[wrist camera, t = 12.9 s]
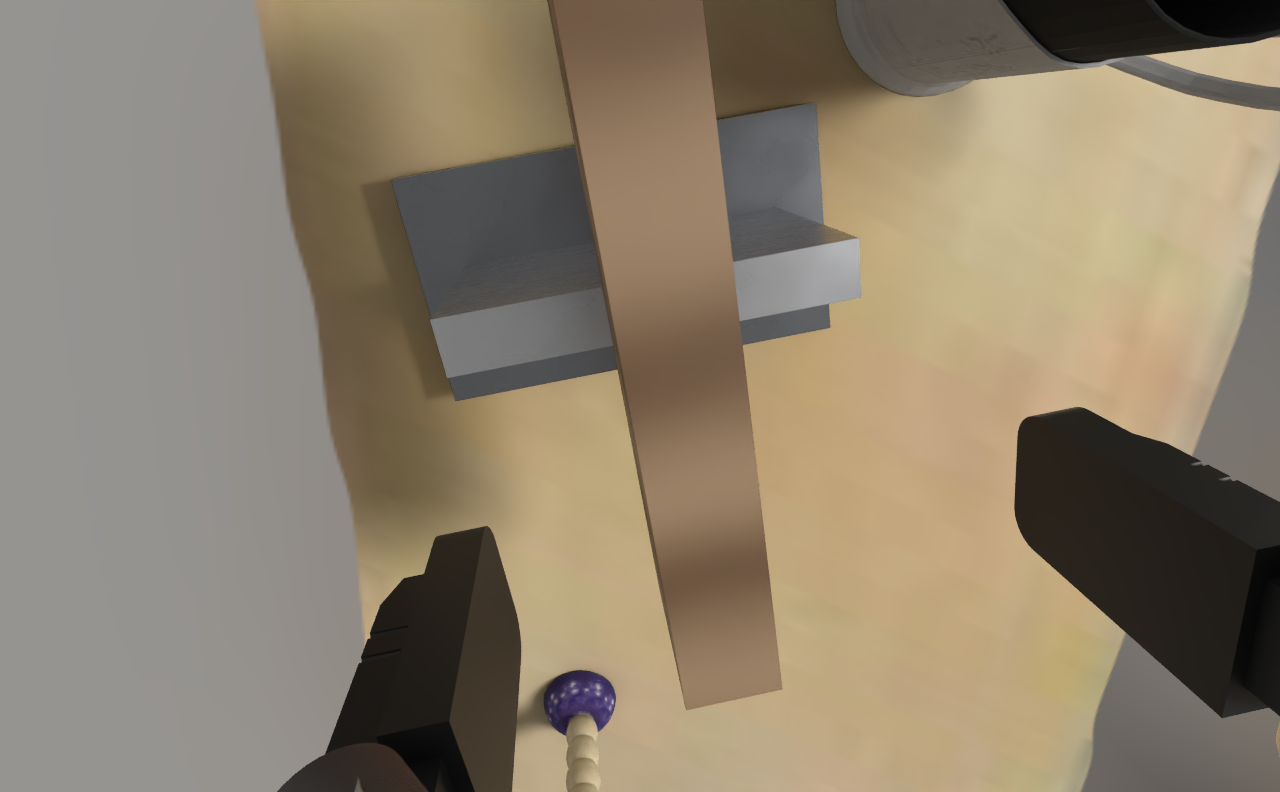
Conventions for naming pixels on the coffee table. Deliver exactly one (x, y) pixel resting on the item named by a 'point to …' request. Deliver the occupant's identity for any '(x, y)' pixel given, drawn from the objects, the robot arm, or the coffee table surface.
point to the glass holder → (1051, 41)
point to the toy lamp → (580, 723)
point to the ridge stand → (567, 265)
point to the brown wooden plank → (674, 325)
